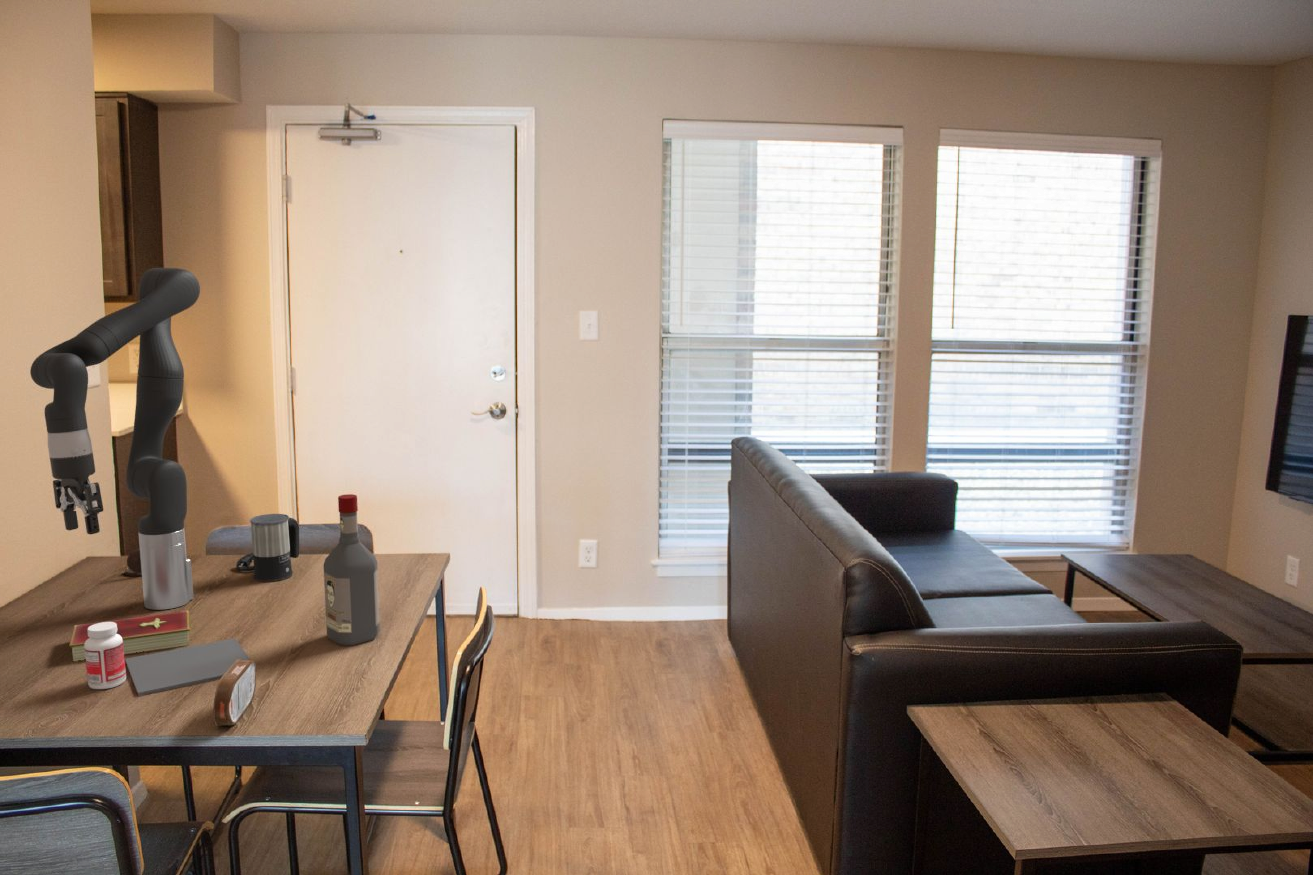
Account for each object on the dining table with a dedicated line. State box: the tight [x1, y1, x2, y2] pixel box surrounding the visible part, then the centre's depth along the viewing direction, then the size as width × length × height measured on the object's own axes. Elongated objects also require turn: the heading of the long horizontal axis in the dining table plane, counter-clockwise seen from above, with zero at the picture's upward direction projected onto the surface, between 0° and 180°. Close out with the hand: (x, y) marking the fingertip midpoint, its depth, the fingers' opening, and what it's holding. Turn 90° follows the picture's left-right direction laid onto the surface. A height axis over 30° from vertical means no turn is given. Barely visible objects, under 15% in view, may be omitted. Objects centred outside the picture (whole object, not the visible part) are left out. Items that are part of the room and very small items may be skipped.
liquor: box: [323, 493, 381, 647], centre depth 202 cm, size 9×9×30 cm
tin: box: [213, 659, 257, 727], centre depth 169 cm, size 15×3×8 cm, turn 5°
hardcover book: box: [68, 610, 191, 662], centre depth 200 cm, size 12×21×4 cm, turn 116°
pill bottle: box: [84, 621, 127, 690], centre depth 180 cm, size 6×6×11 cm
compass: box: [115, 548, 142, 577], centre depth 242 cm, size 8×8×7 cm
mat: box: [124, 637, 251, 697], centre depth 189 cm, size 20×18×1 cm
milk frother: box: [235, 513, 300, 582], centre depth 244 cm, size 14×16×15 cm
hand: (82, 531), depth 200 cm, fingers open, 8 cm apart
